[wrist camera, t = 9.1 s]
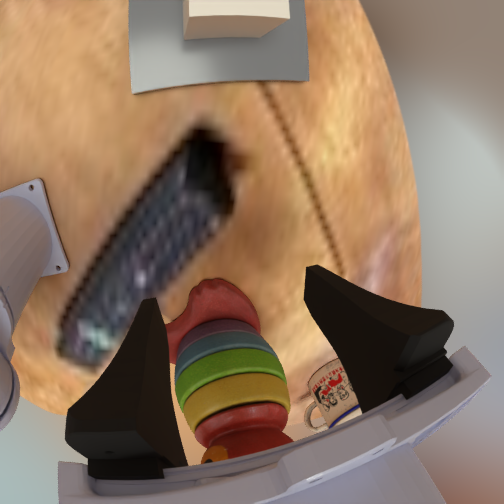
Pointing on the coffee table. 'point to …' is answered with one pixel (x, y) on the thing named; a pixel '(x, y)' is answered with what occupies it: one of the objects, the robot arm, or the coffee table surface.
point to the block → (232, 18)
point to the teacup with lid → (332, 397)
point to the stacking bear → (227, 374)
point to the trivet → (210, 50)
